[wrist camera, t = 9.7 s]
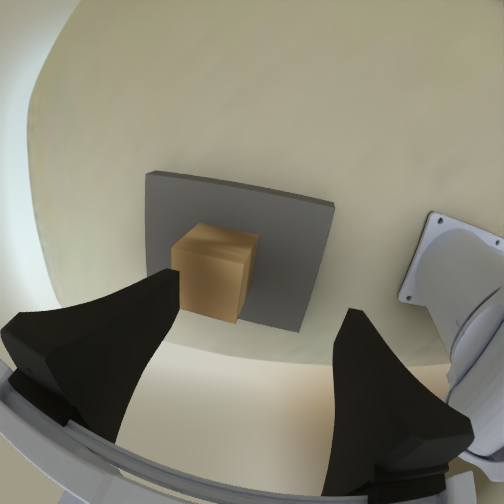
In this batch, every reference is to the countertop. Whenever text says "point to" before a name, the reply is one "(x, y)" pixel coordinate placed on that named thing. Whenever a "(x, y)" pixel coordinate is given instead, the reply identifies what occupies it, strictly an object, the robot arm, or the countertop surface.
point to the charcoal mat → (251, 221)
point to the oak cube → (214, 270)
